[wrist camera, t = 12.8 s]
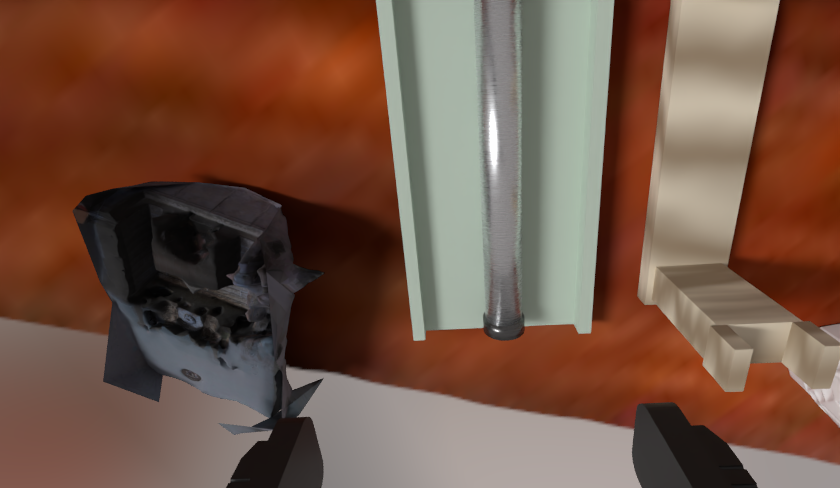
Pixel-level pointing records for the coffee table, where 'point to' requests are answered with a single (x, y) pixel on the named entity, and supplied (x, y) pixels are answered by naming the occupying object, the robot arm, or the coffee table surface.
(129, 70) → the coffee table surface
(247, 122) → the coffee table surface
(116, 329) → the grey mechanical device
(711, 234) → the rack
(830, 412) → the white cup
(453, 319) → the mat tray
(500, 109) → the steel rod
